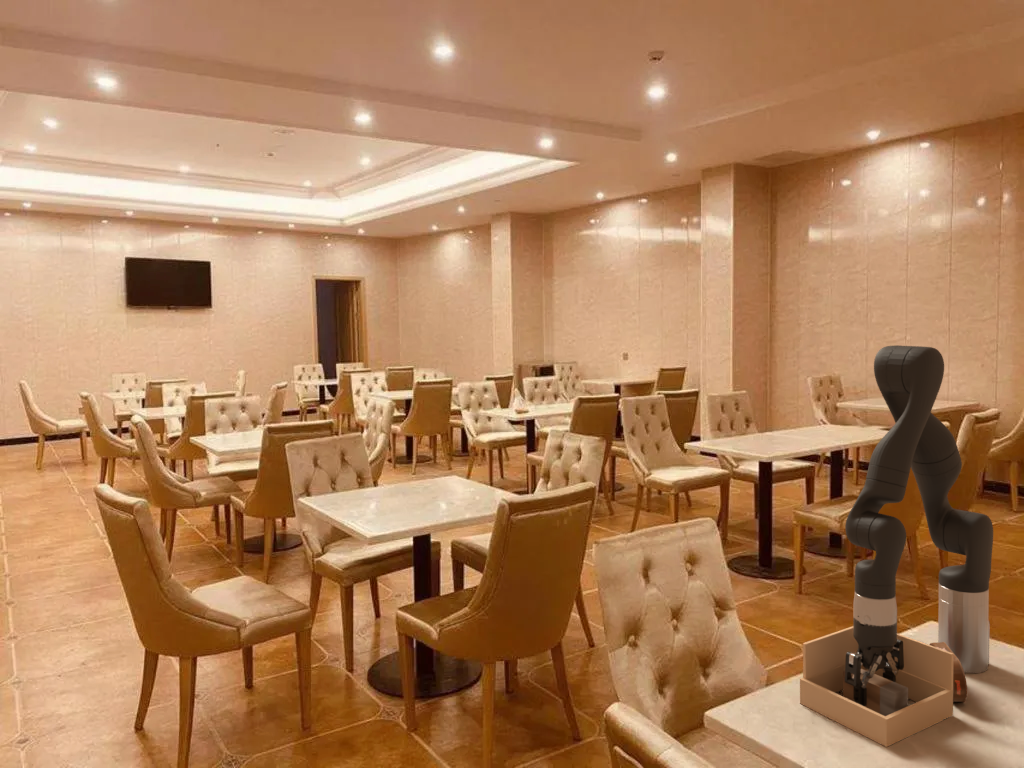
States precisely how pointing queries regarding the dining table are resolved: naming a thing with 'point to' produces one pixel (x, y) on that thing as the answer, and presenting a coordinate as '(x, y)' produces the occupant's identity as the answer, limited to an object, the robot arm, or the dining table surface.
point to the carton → (921, 675)
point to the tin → (955, 675)
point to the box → (880, 694)
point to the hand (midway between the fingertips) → (874, 698)
